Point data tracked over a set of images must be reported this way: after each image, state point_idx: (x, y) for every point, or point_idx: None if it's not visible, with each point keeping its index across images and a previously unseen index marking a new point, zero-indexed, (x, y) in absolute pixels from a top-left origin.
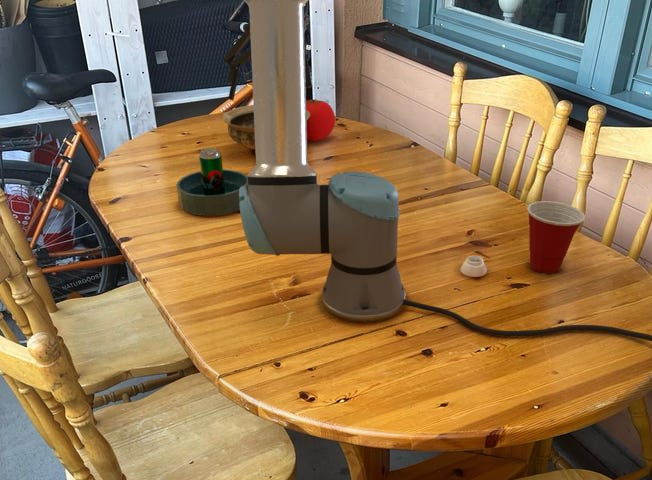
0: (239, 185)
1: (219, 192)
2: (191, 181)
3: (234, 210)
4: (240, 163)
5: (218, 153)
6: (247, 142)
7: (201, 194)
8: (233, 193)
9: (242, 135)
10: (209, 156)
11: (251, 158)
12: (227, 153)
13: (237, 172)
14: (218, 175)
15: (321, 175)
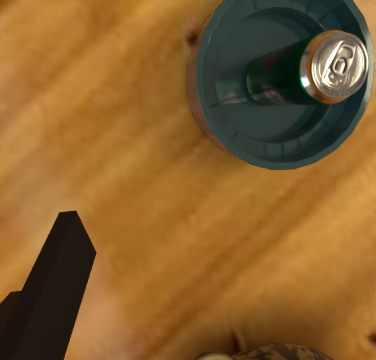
0: (232, 130)
1: (261, 60)
2: (347, 111)
3: (203, 23)
4: (286, 306)
5: (309, 66)
6: (290, 345)
7: (309, 108)
8: (213, 13)
9: (310, 356)
10: (329, 34)
11: (272, 338)
12: (329, 346)
13: (251, 156)
14: (279, 55)
15: (83, 299)
